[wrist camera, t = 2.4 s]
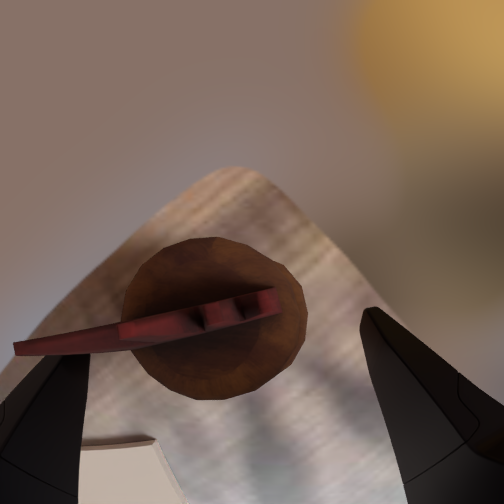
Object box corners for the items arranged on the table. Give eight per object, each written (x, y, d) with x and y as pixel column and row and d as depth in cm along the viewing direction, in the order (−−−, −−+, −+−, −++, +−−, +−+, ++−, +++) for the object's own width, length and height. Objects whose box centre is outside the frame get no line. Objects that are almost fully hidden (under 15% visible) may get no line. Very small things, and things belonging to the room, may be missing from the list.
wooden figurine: (173, 353, 17) (-32, 436, 2) (185, 260, 18) (13, 114, 4) (284, 369, 17) (382, 544, 2) (296, 274, 18) (435, 134, 3)
